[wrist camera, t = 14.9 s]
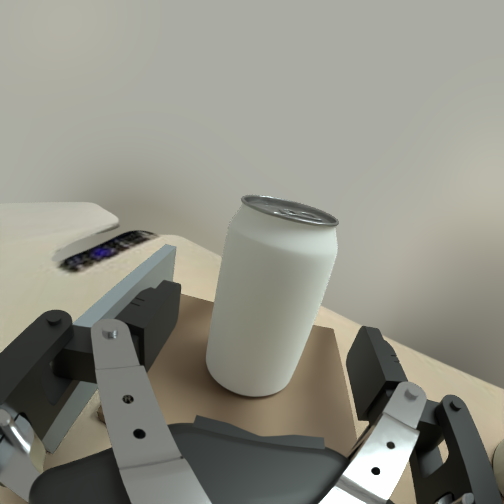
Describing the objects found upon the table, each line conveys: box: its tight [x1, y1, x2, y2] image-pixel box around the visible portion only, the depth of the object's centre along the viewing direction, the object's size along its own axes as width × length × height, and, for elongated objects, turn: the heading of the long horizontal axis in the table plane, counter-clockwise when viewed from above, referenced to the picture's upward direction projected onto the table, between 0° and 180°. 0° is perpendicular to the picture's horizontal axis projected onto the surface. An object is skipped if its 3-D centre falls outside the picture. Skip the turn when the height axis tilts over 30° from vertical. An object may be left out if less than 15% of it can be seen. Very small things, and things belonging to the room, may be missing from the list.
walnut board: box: [97, 294, 357, 456], centre depth 20 cm, size 16×16×1 cm
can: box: [206, 195, 339, 397], centre depth 18 cm, size 6×6×12 cm
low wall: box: [42, 244, 176, 454], centre depth 19 cm, size 1×22×5 cm, turn 174°
